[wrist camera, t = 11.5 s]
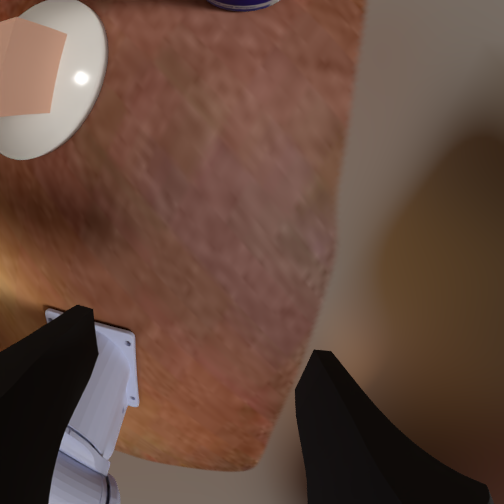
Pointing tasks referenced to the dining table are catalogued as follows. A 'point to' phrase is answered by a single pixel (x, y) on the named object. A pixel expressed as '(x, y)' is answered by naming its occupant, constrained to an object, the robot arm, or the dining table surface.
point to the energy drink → (242, 4)
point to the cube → (28, 66)
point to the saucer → (61, 81)
